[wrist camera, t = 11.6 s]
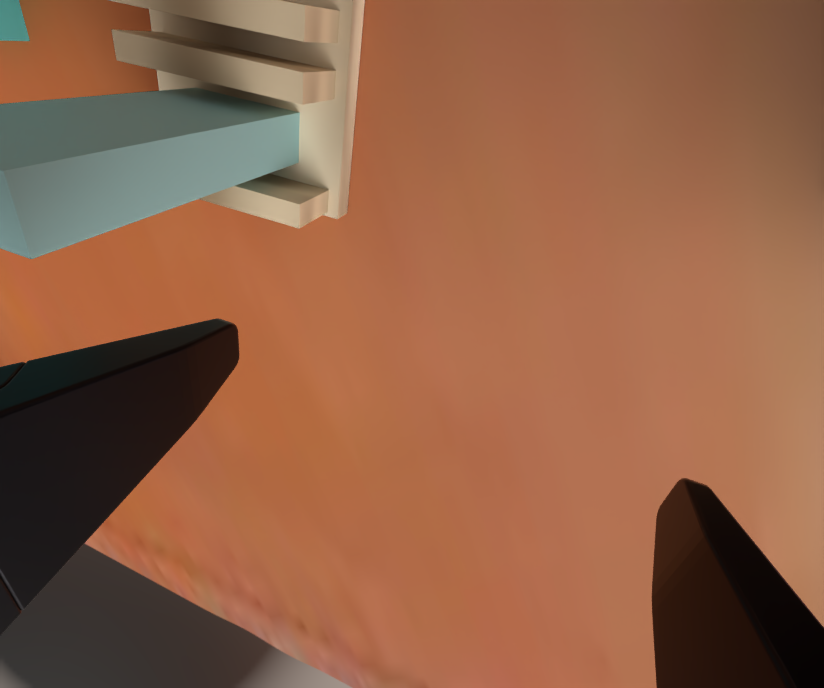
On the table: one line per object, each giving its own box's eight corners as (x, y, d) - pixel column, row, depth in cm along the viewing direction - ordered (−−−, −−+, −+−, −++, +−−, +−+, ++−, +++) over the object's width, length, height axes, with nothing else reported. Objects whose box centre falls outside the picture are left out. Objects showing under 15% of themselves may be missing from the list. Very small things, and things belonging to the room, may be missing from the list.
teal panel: (299, 112, 20) (3, 170, 10) (298, 162, 21) (31, 258, 11) (196, 87, 20) (-169, 118, 11) (200, 136, 22) (-127, 204, 12)
